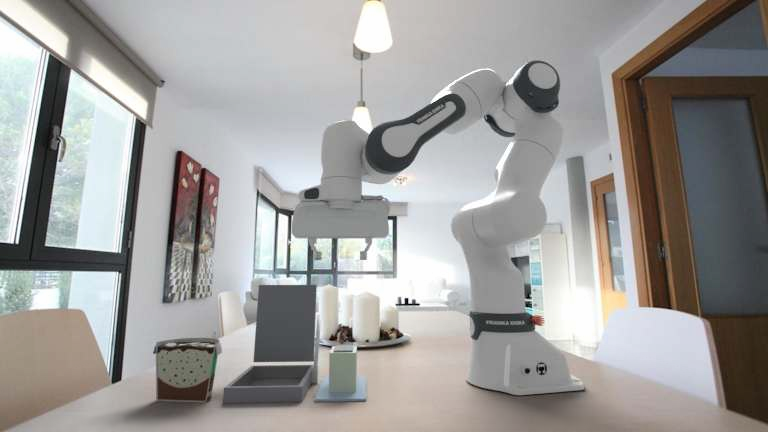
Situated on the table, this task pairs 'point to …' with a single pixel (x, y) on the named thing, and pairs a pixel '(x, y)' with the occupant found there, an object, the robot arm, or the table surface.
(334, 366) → the module
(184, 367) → the food container
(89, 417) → the table surface
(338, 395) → the mat
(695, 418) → the table surface
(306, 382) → the case
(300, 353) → the lid
